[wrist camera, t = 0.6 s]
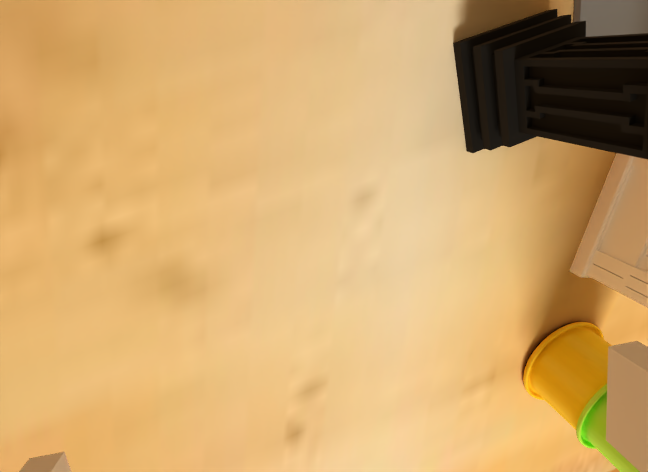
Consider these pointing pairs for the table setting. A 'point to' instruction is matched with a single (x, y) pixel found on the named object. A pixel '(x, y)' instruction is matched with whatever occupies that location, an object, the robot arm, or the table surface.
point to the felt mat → (612, 16)
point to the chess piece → (554, 86)
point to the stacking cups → (576, 384)
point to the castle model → (619, 232)
